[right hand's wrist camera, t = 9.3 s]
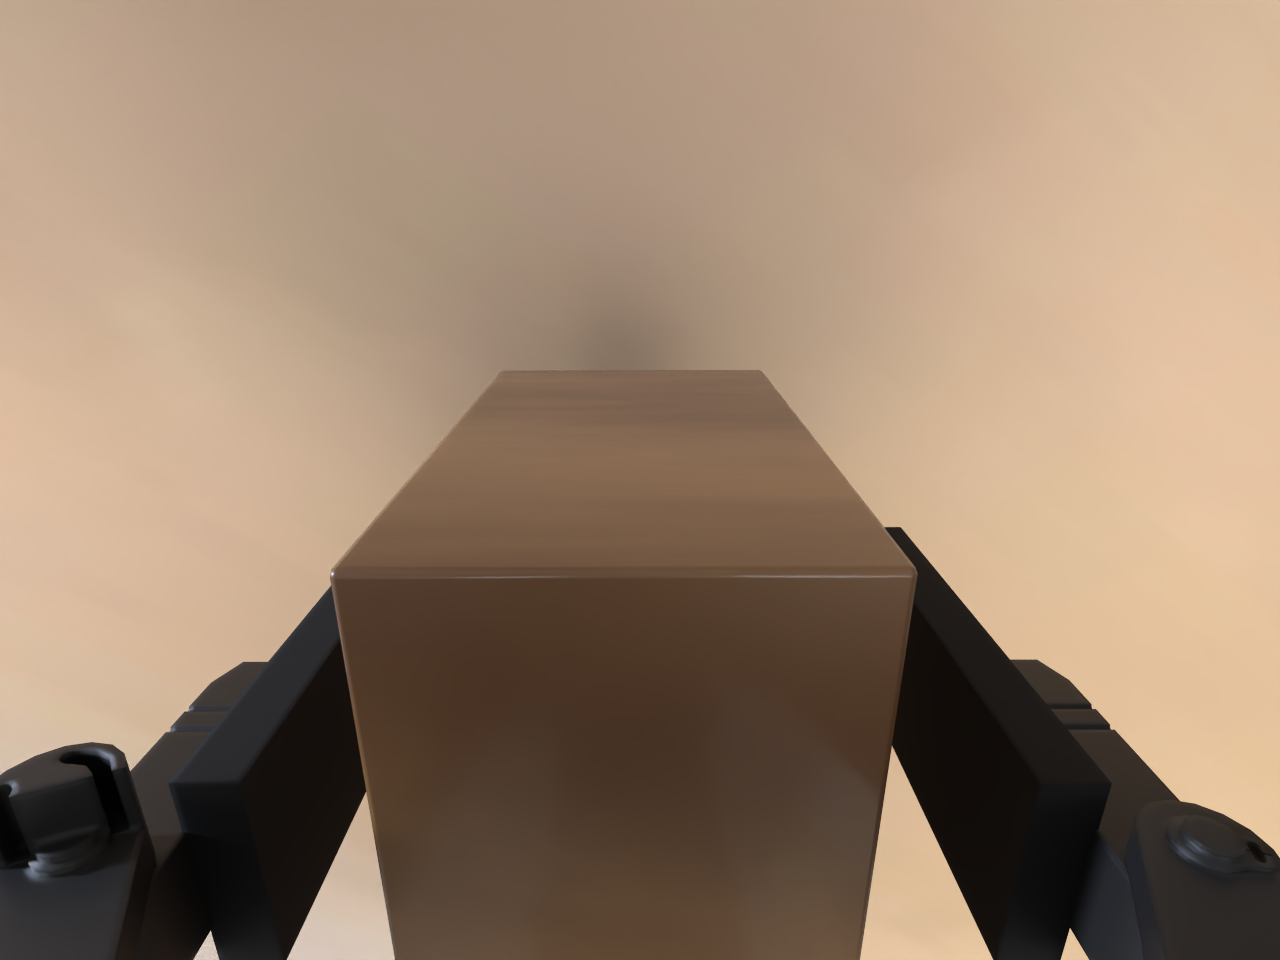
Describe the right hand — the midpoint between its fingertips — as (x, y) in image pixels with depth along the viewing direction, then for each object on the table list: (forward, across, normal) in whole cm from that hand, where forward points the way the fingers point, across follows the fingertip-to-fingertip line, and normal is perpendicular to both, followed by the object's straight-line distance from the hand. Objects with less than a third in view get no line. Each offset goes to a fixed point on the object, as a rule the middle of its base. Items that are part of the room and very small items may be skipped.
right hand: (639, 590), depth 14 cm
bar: (+1, 0, -8) cm, 9 cm away
